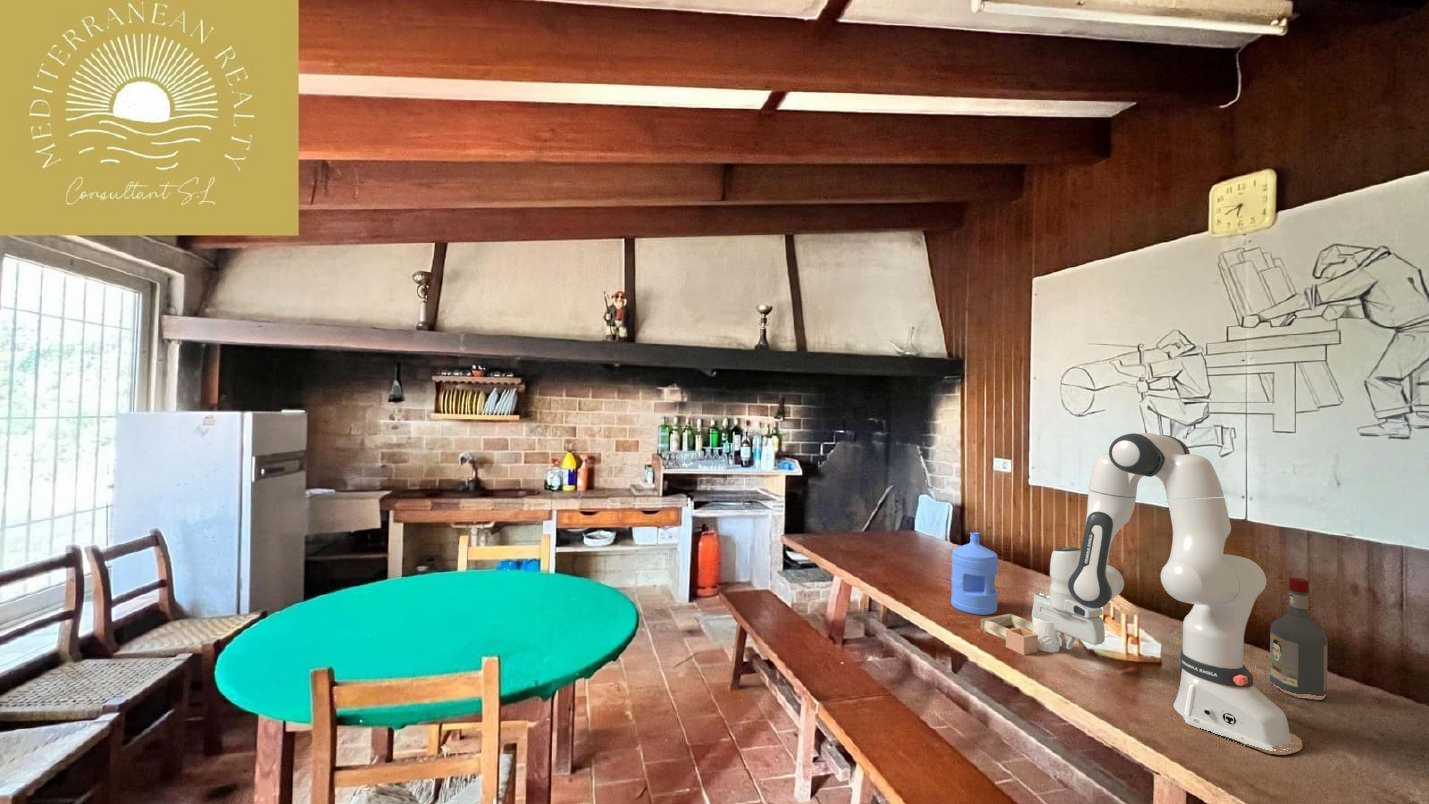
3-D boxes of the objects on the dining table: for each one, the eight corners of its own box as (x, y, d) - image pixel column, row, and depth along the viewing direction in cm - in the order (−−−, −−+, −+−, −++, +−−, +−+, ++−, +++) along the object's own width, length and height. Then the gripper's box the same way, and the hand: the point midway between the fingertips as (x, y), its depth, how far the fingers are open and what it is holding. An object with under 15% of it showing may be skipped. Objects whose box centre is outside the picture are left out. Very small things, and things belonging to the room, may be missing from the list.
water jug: (941, 602, 214) (942, 529, 214) (975, 599, 218) (976, 527, 218) (972, 617, 199) (973, 538, 199) (1007, 613, 203) (1008, 536, 204)
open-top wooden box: (1037, 654, 170) (1037, 634, 170) (1023, 657, 167) (1023, 637, 167) (1019, 646, 175) (1019, 627, 175) (1005, 649, 173) (1006, 629, 173)
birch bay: (1044, 639, 181) (1045, 627, 181) (1014, 646, 175) (1014, 633, 175) (1009, 625, 192) (1010, 613, 192) (980, 631, 187) (980, 619, 187)
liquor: (1306, 686, 152) (1307, 576, 153) (1332, 703, 144) (1333, 586, 144) (1264, 681, 155) (1266, 572, 155) (1288, 697, 146) (1289, 582, 146)
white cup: (1053, 645, 176) (1053, 613, 176) (1066, 656, 169) (1067, 623, 169) (1027, 644, 177) (1027, 612, 177) (1039, 655, 169) (1039, 621, 169)
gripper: (1027, 591, 176) (1026, 635, 175) (1094, 614, 157) (1093, 664, 157) (1041, 589, 178) (1040, 632, 178) (1108, 611, 159) (1107, 660, 159)
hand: (1065, 647), depth 167 cm, fingers closed
